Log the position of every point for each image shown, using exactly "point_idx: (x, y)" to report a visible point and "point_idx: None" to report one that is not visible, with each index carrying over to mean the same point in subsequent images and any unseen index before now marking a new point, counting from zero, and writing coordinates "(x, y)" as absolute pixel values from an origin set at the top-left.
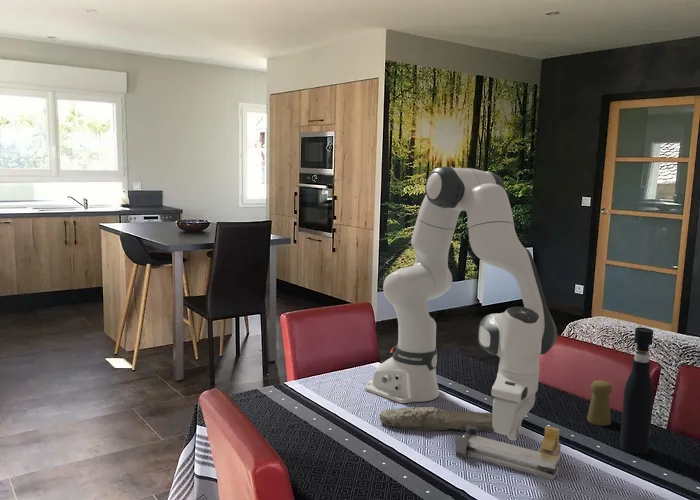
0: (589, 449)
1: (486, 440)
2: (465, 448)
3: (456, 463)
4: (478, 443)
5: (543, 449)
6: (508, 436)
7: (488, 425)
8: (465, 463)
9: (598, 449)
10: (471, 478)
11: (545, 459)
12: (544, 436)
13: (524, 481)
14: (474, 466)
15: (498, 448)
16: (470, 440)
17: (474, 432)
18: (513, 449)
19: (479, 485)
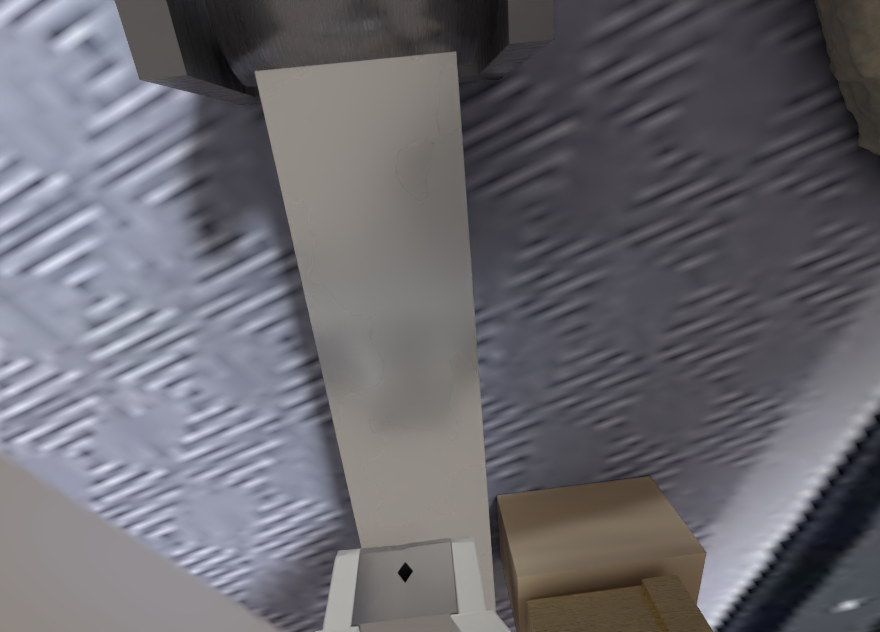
0: (797, 593)
1: (419, 236)
2: (196, 92)
3: (113, 78)
4: (301, 199)
5: (527, 611)
6: (332, 575)
7: (870, 35)
8: (177, 144)
9: (812, 615)
10: (34, 284)
11: None
12: (664, 623)
13: (279, 512)
14: (196, 224)
15: (345, 386)
16: (297, 89)
17: (497, 38)
18: (413, 473)
19: (12, 362)
